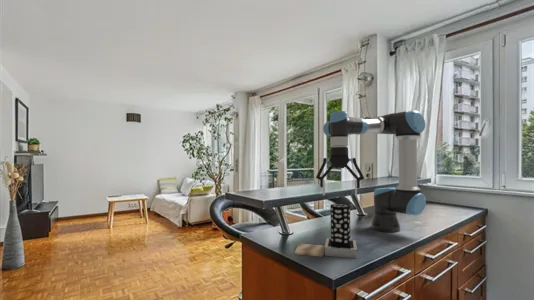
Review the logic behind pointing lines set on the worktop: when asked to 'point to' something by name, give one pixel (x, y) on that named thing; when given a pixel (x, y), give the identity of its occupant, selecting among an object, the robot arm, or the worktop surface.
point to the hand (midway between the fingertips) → (339, 195)
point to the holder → (341, 250)
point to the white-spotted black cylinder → (340, 226)
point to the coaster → (310, 250)
